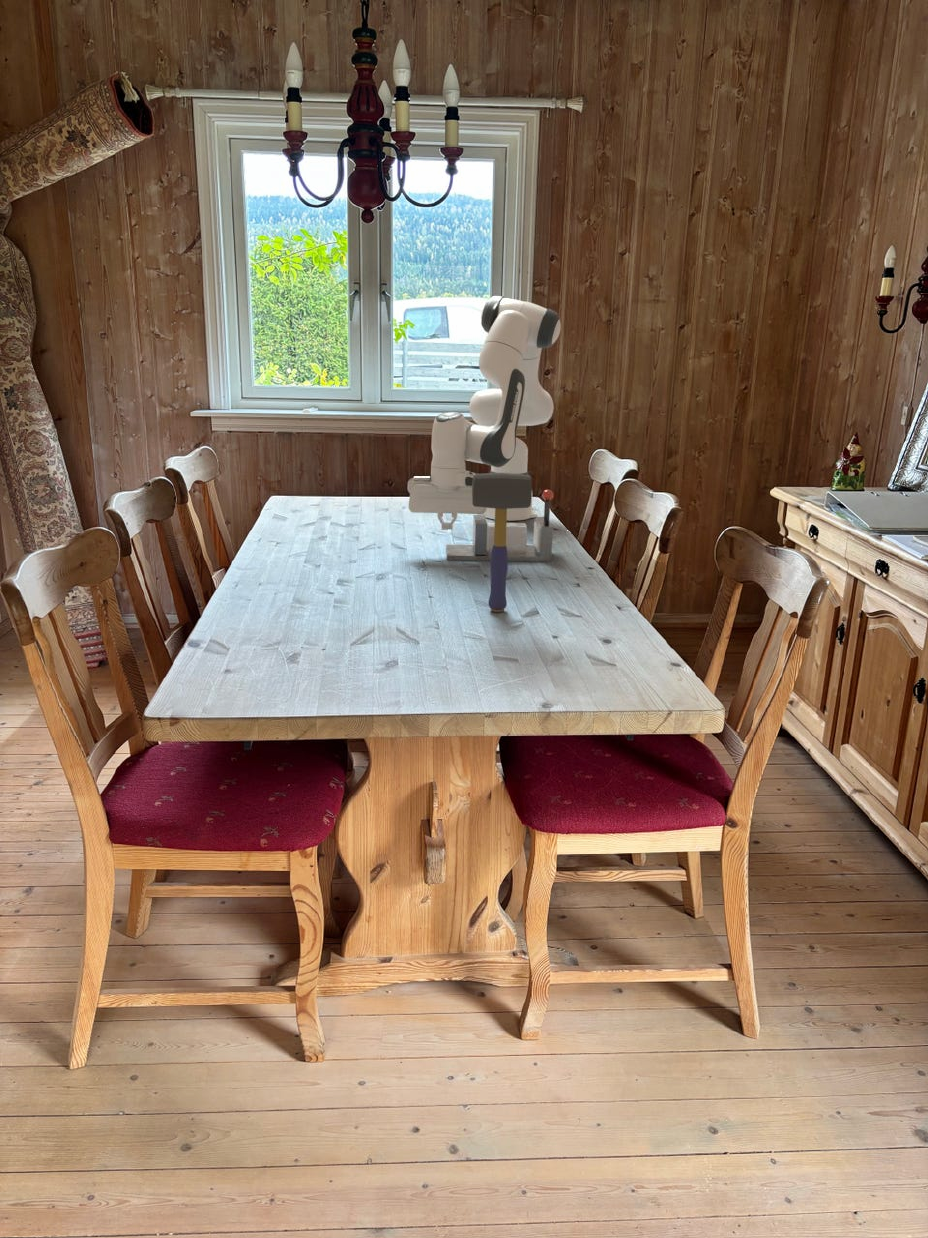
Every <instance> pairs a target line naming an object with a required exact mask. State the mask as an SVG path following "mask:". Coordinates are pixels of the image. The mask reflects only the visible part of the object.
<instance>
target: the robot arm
mask: <svg viewBox="0 0 928 1238" xmlns="http://www.w3.org/2000/svg"><path fill="white" fill-rule="evenodd" d="M484 304H485V305H484V306H483V308H482V311H481V316H480V318H481V324H480V325H481V327H482V328H483V330H484V331H485V332H486V333H487V336H486V338H485V340H484V343H483V345H482V348H481V350H480V354H479V357H478V367H479V370H480V373H481V374H482V375H483V377H484V378H485V380H486V381H488V382H489V383H490V384H491V385H493V386H495V387H496V388H487V389H481V390H478V391H476V392H475V393H474V394H473V395H472V396H471V398H470V401H469V406H468V409H469V414H470V417H471V418H472V420H473V421H474V422H475V423H474V422H470V421H469V420H468V419H466V418H465V415H464V414H463V413H461V412H456V411H450V412H449V411H448V412H442V413H440V414H438V415H437V416H435V417H434V420H433V423H432V430H431V446H430V447H431V452H432V460H431V463H430V467H431V468H430V476H417V475H416V476H413V477H412V478H410V479H408V481H407V492H408V493H409V499H408V510H409V512H410V513H412V514H414V513H415V514H416V513H417V514H418V513H419V514H423V513H424V514H437V519H438V520H439V522H440V524H441V531H453V525H454V523H455V521H456V520H457V518H458V515H459V514H461V515H463V514H464V515H485V518H486V519H490V520H491V519H492V520H495V508H485V507H475V506H473V504H472V483H473V475H474V474H477V473H476V472H472V471H470V470H466V461H468V462H470V463H471V462H472V463H478V464H483V465H484V464H485V465H486V466H490V469H491V470H490V471H489V473H511V474H523V475H529V472H528V459H529V456H528V455H529V448H528V445H527V444H526V443H525V442H524V441H523V440H521V439H520V438H519V437H517V431H518V427H519V426H522V427H523V426H524V427H528V426H529V427H530V426H531V427H532V426H538V425H542V424H546V423H548V422H549V420H550V419H551V418H552V416H553V414H554V409H555V408H554V401H553V399H552V396H551V394H550V393H549V392H548V391H546V390H545V389H544V388H543V386H542V384H541V383H540V381H539V367H540V360H541V354H542V349H548V348H550V347H553V345H554V344H555V342H556V341H557V340H558V338H559V336H560V334H561V317H560V315H559V313H558V312H556V311H555V310H552V309H551V308H545V307H543V306H541V305H539V304H536V303H533V302H530V301H524V300H519V299H515V298H514V299H513V298H508V297H505V296H503V295H493V296H491V297H490V298H488V299H487V301H486V303H484ZM444 514H451V520H450V521H446V522H445V521H444V519H443V517H444ZM536 517H539V516H538V513H537V512H535V511H534V510H533V496H532V497H531V505H530V507H528V508H511V509H507V522H508V521H510V522H511V521H512V522H513V521H524V520H528V519H532V518H536Z"/></svg>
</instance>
